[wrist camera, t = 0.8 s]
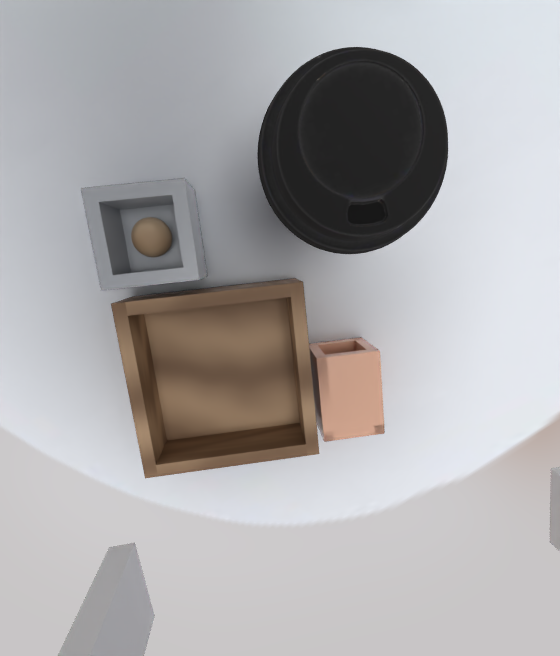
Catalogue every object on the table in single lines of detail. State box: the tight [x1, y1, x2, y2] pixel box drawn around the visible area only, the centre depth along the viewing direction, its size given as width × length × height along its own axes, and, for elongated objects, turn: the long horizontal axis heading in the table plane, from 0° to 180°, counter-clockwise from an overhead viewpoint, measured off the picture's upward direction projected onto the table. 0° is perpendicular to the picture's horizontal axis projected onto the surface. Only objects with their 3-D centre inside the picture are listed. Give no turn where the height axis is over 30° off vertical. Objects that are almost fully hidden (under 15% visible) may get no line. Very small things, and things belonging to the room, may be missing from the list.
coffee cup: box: [258, 47, 448, 254], centre depth 24 cm, size 9×9×15 cm
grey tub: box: [81, 178, 207, 291], centre depth 29 cm, size 7×7×5 cm
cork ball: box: [131, 217, 172, 257], centre depth 29 cm, size 3×3×3 cm
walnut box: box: [111, 278, 319, 478], centre depth 31 cm, size 14×14×5 cm
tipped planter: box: [309, 337, 384, 442], centre depth 32 cm, size 7×5×5 cm
